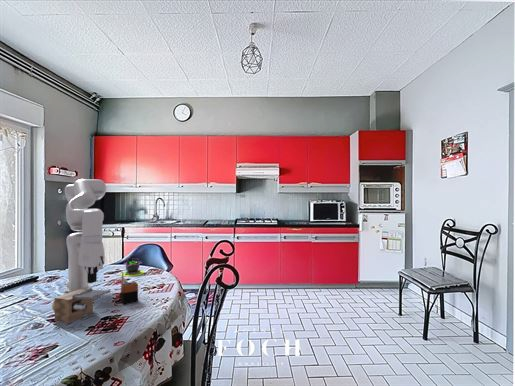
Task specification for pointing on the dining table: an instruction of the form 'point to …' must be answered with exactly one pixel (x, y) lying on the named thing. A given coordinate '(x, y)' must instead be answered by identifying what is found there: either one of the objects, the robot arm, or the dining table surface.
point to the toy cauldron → (132, 269)
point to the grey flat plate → (90, 294)
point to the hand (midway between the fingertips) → (92, 282)
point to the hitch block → (65, 307)
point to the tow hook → (121, 286)
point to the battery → (129, 292)
